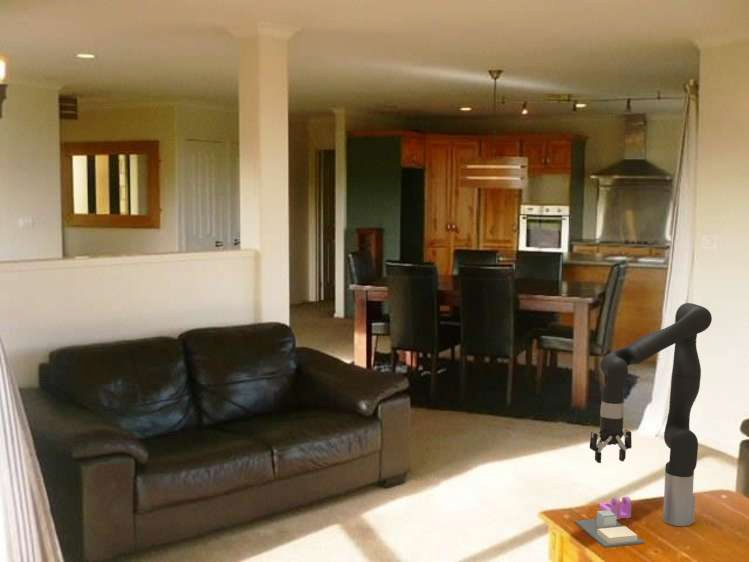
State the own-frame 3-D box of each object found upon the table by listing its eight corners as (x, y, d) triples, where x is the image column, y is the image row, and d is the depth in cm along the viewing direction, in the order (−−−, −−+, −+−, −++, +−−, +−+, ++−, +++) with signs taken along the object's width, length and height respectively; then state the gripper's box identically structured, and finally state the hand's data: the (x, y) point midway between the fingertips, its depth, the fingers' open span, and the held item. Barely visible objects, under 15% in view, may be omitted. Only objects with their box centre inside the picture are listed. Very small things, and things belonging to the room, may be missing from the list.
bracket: (630, 518, 297) (631, 498, 296) (616, 519, 295) (617, 500, 294) (610, 504, 309) (610, 486, 308) (596, 506, 308) (597, 487, 307)
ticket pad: (611, 519, 295) (611, 511, 295) (644, 543, 275) (644, 535, 275) (574, 522, 292) (574, 514, 292) (604, 547, 272) (605, 539, 272)
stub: (608, 525, 288) (609, 509, 287) (616, 531, 283) (616, 515, 282) (596, 526, 287) (597, 510, 286) (603, 532, 282) (604, 516, 281)
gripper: (625, 410, 292) (623, 456, 294) (587, 412, 289) (585, 459, 290) (637, 416, 285) (634, 463, 286) (597, 418, 281) (595, 466, 283)
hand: (609, 461), depth 288 cm, fingers open, 8 cm apart
